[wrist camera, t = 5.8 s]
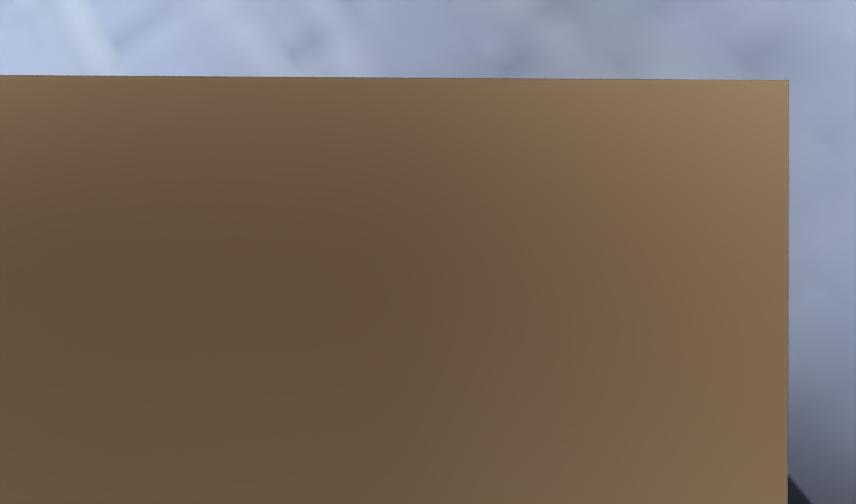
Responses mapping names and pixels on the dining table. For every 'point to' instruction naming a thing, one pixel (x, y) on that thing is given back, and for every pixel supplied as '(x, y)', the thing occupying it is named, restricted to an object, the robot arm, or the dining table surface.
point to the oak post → (393, 290)
